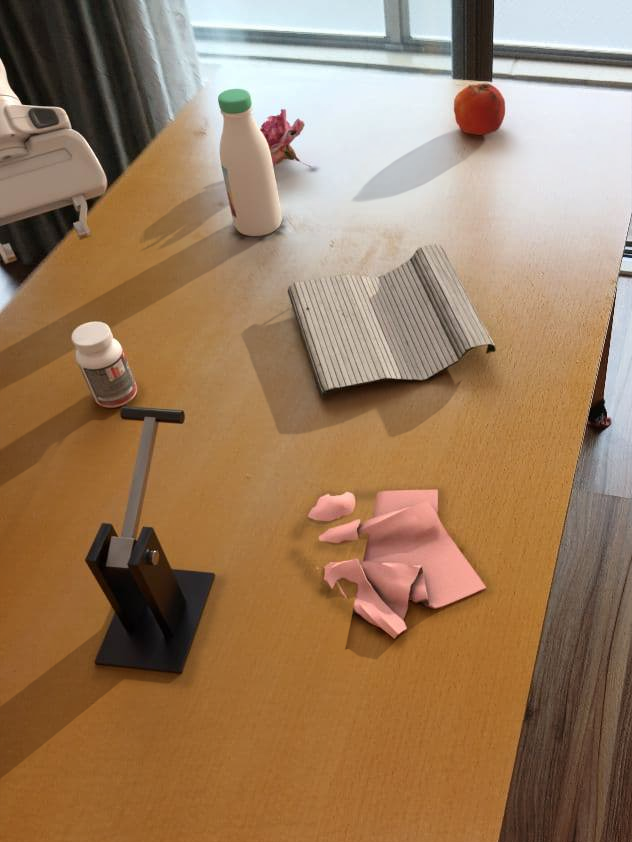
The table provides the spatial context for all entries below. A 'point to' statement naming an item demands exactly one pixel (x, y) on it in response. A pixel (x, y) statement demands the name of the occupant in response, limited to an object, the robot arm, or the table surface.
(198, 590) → the bracket
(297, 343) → the table surface
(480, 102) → the red round fruit
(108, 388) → the pill bottle
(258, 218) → the milk bottle
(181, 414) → the lever
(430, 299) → the mat
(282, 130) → the flower
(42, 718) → the table surface
